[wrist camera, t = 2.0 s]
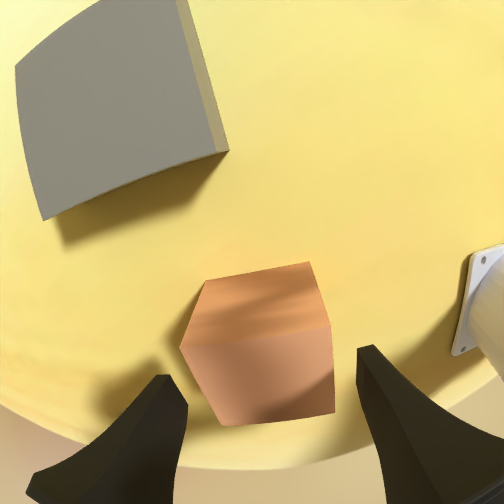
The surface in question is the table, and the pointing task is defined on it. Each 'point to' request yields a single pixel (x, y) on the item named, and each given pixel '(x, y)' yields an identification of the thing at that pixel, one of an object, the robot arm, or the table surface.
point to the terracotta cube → (262, 347)
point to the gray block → (114, 101)
